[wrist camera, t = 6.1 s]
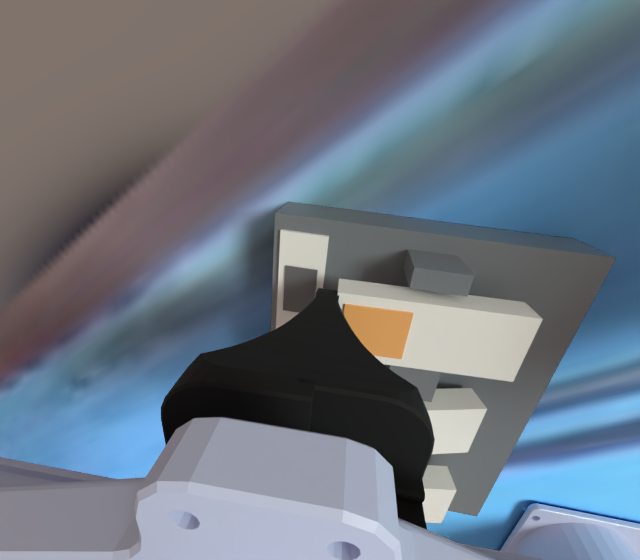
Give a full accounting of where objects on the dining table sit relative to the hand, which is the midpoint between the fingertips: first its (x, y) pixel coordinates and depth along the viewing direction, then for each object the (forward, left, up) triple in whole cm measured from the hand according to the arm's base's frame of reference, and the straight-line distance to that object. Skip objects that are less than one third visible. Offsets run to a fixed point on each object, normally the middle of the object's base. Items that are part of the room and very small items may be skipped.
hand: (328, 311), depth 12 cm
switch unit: (-5, -4, -4) cm, 8 cm away
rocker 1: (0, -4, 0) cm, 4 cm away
